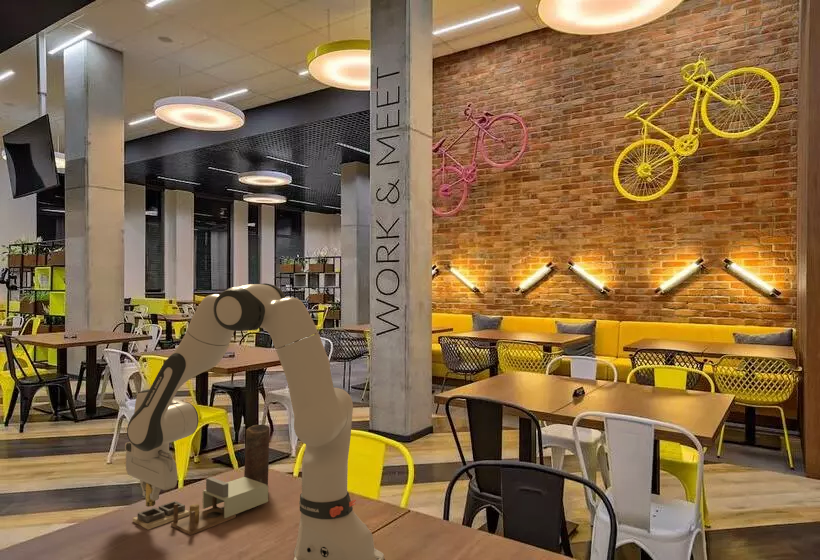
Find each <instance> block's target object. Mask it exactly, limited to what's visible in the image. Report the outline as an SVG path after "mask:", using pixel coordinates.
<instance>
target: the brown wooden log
mask: <svg viewBox="0 0 820 560" xmlns="http://www.w3.org/2000/svg"><path fill="white" fill-rule="evenodd" d="M244 447H245V449H244V451H245V453H244V472H243V475H244V476H243V477H246V478H249V479H252V480H255V481H258V482H261V483H264V484H266V485H267V486H268V487H269V459H270V426H268V425H267V424H254V425H252V426H249V427H248V428H247V429H246V430H245V446H244Z"/></svg>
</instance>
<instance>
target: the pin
mask: <svg viewBox="0 0 820 560" xmlns="http://www.w3.org/2000/svg"><path fill="white" fill-rule="evenodd" d="M152 491H153V488H152V485H151V484H148V483H146V497H145V506H146V507H148V508H149V507H154V506H155V505H156V500H155V501H153V500H151V499H150V493H152Z"/></svg>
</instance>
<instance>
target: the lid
mask: <svg viewBox="0 0 820 560" xmlns="http://www.w3.org/2000/svg"><path fill="white" fill-rule="evenodd" d="M205 480H206V481H205V485H206V486H205V489H203V490H202V509H204V510H205V509H208V508H211V507H213V496H214V497H216V498H217V505H218V504H219V505H220V504H222V503H223V509H224V518H227V517H230V516H232V515H235V514H236V515H238V514H240V513H242V512H245V511H248V510H250V509H252V508H255V507H257V506H260V505H263V504H266V503H268V502H269V485H268V486H267V485H266V484H264V483H261V482H258V481H255V480H252V479H249V478H246V477H244V476H242V477H239V478H237V479H233V480H230V481H223V480H221V479H218V478H215V477H212V476H211V477H207V478H206V479H205Z"/></svg>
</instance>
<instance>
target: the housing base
mask: <svg viewBox="0 0 820 560" xmlns="http://www.w3.org/2000/svg"><path fill="white" fill-rule="evenodd" d="M217 505H218V504H217V498H216V497H214V496H213V506H212V508H211V507H210V508H209V509H208V508H207V509H206V510H205V509H204V510H203V511H200V504H198V503H193V504H191V505H189V511H190V515H188V516H185V517H182V518H179V519H178V504H177V503H176V504H174V519H173V521H171V522H170V526H171V527H173V528H175V529H177V530H179V531H181V532H183V533H184V534H187V535H189V536H191V535H194V534H196V533H199V532H202V531H205V530H207V529H209V528H212V527H215V526H217V525H221V524H222V523H225V522H228V521H230V520H233V519H235V518H237V514H235V515H232V516H230V517H227V518H224V508H221V507H220V506H217Z"/></svg>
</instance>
